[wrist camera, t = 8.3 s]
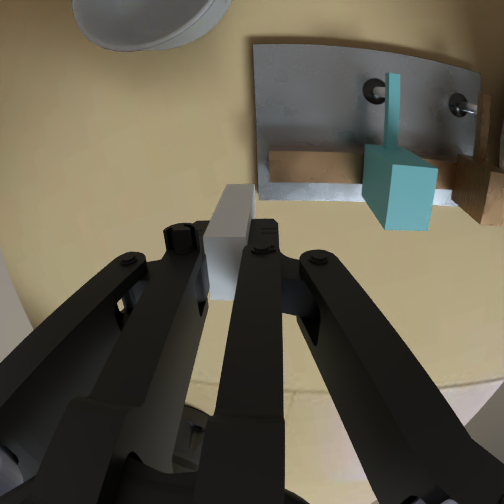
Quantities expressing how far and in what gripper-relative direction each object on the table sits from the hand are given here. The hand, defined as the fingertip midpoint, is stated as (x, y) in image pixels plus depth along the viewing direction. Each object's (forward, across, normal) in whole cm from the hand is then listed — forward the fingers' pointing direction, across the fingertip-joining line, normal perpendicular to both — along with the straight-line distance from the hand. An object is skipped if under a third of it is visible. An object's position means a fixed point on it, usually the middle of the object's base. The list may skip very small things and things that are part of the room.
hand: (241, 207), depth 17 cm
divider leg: (+8, +10, +3) cm, 13 cm away
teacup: (+10, -6, +17) cm, 21 cm away
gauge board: (+10, +10, +4) cm, 15 cm away
